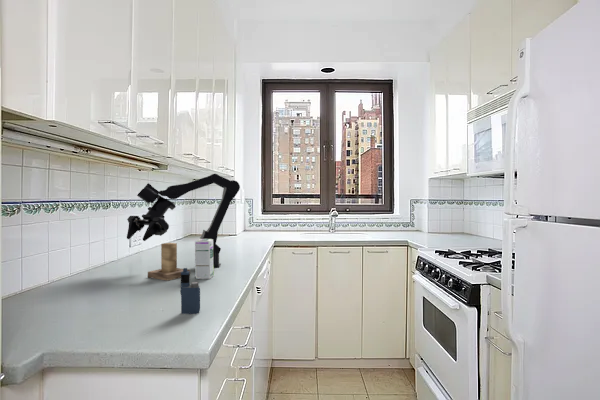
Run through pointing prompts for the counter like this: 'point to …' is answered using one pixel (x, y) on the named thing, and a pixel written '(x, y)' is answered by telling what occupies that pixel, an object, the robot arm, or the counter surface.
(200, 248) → the syrup box
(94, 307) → the counter surface
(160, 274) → the socket
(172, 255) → the peg
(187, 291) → the vaping device
